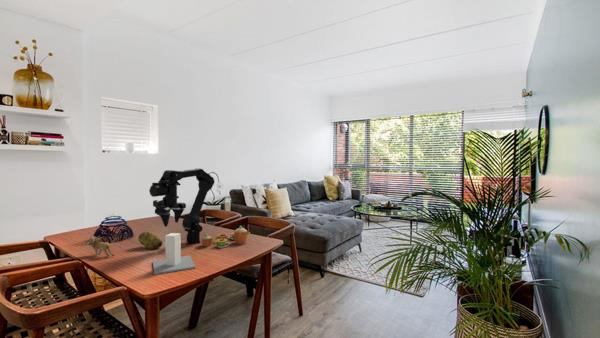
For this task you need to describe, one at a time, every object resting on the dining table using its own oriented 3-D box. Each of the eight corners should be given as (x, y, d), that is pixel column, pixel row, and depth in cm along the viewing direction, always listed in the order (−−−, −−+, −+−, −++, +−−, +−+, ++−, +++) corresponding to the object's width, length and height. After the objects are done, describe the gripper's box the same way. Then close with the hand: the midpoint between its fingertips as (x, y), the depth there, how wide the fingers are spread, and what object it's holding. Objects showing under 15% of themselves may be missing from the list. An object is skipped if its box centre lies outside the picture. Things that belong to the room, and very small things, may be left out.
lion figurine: (85, 256, 144) (84, 237, 144) (95, 252, 150) (94, 234, 149) (110, 258, 141) (109, 239, 140) (119, 255, 146) (119, 237, 146)
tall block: (171, 261, 136) (171, 233, 135) (180, 262, 135) (180, 233, 134) (165, 264, 131) (165, 235, 131) (174, 265, 130) (174, 236, 130)
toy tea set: (238, 236, 182) (238, 221, 181) (253, 242, 170) (253, 225, 170) (197, 245, 164) (197, 227, 163) (210, 252, 153) (210, 233, 152)
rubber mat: (190, 257, 144) (190, 255, 144) (195, 268, 130) (195, 266, 130) (153, 262, 136) (153, 260, 136) (154, 274, 122) (154, 272, 122)
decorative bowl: (110, 233, 187) (109, 210, 186) (140, 234, 185) (140, 211, 184) (84, 242, 167) (83, 217, 166) (117, 243, 165) (116, 218, 164)
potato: (149, 251, 151) (148, 236, 151) (136, 247, 158) (135, 232, 158) (164, 247, 158) (164, 232, 158) (151, 243, 165) (151, 229, 165)
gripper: (167, 192, 165) (168, 220, 166) (144, 196, 147) (145, 227, 147) (186, 192, 163) (186, 221, 164) (165, 197, 145) (165, 229, 145)
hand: (171, 224), depth 155 cm, fingers open, 9 cm apart
